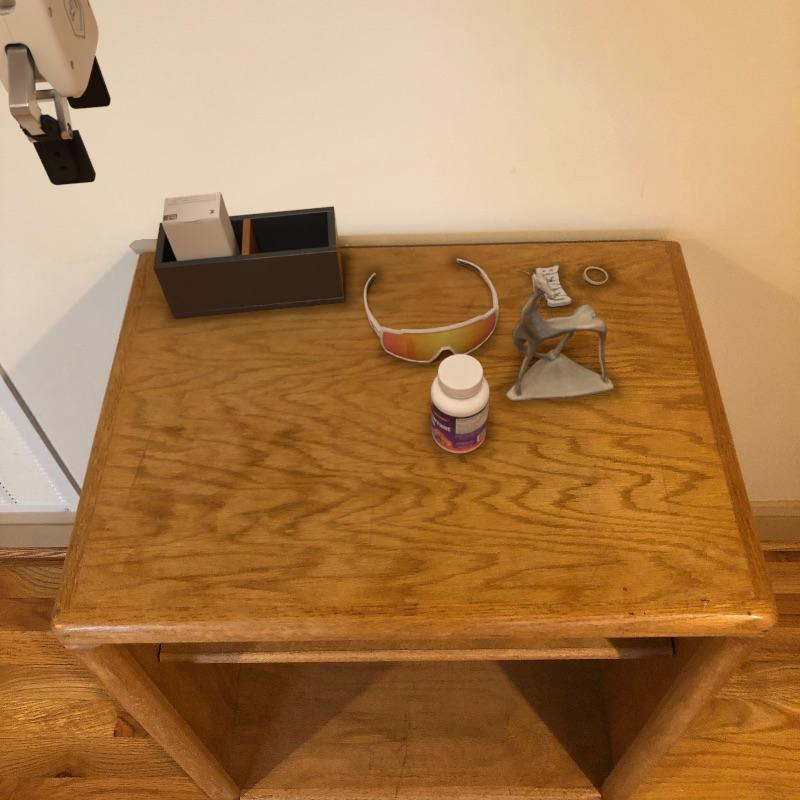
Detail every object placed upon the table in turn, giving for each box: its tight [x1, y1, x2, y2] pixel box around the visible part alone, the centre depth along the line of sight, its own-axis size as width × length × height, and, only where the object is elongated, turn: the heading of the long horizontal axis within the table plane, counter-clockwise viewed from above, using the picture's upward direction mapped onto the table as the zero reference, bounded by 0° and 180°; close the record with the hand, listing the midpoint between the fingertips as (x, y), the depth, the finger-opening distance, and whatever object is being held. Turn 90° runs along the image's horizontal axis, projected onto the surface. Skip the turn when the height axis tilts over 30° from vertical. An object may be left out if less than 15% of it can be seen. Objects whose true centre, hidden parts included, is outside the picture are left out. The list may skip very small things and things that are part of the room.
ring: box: [581, 265, 609, 286], centre depth 88 cm, size 3×1×3 cm
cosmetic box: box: [161, 192, 241, 261], centre depth 84 cm, size 6×4×12 cm
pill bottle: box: [430, 354, 490, 454], centre depth 73 cm, size 5×5×10 cm
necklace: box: [515, 264, 572, 308], centre depth 87 cm, size 7×1×5 cm
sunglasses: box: [363, 258, 500, 364], centre depth 85 cm, size 14×15×5 cm
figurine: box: [505, 272, 615, 401], centre depth 75 cm, size 11×6×15 cm, turn 91°
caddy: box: [152, 205, 345, 319], centre depth 87 cm, size 19×7×8 cm, turn 95°
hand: (83, 141), depth 60 cm, fingers open, 9 cm apart
